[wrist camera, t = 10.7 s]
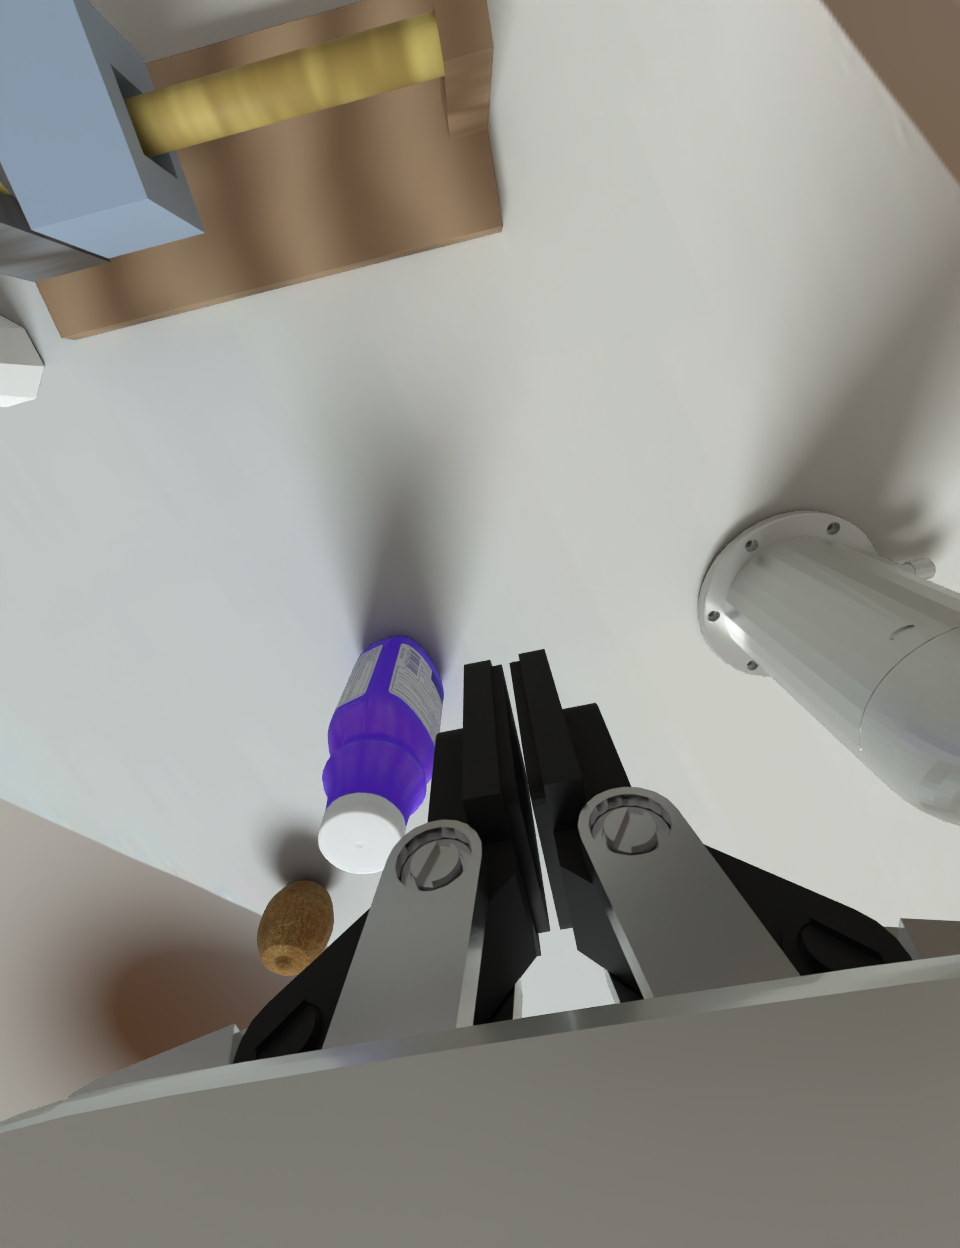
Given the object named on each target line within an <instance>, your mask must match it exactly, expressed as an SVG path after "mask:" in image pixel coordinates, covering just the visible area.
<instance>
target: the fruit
mask: <svg viewBox="0 0 960 1248" xmlns="http://www.w3.org/2000/svg"><path fill="white" fill-rule="evenodd" d="M333 924H334V913H333V905H332V901H331V898H330V895H329V893H328V892H327V891H326V889H325V888H324V887H323V886H321V885H319V884H318V883H316V882H313V881H309V880H299V881H295V882H292V883H289V884H288V885H287V886H285V887H284V888H283V889H282V890H281V891H279V892H278V893H277V894H276V895H275V896H274V897H273V898H272V899H271V901H270V902H269V903H268V905H267V907H266V909H265V911H264V913H263V916H262V919H261V921H260V925H259V928H258V934H257V944H258V950H259V955H260V958H261V960H262V963H263V964H264V965H265V967H266V968H267V969H268V970H270V971H272V972H274V973H276V974H281V975H296V974H299V973H301V972H302V971H303V970H304V969H305V968H306V967H307V966H308V965H309V964H311V963H312V962H313V961H314V960H315V959H316V958H317V957H318V956H319V955H320V954H321V953H322V952H323V951H324V949H325V947H326V945H327V943H328V941H329V939H330V936H331V933H332V930H333Z"/></svg>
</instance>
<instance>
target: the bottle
mask: <svg viewBox="0 0 960 1248" xmlns="http://www.w3.org/2000/svg"><path fill="white" fill-rule="evenodd" d="M443 699H444V691H443V686H442V682H441V679H440V676H439V674H438V671H437V669H436V667H435V665H434V663H433V662H432V660H431V658H430V657H429V656H428V654H427V653H426V652H425V650H424V649H423V648H422V647H421V646H420V645H419V644H418V643H416V642H415V641H414V640H412V639H410V638H409V637H403V636H396V637H390V638H387V639H385V640H381V641H379V642H377V643H375V644H373V645H371V646H370V647H369V648H367V649H366V650H365V651H364V652H363V653H362V654H361V655H360V656H359V658H358V660H357V662H356V664H355V666H354V668H353V671H352V673H351V675H350V678H349V680H348V682H347V685H346V687H345V689H344V691H343V694H342V696H341V698H340V700H339V703H338V705H337V707H336V709H335V712H334V714H333V717H332V719H331V722H330V725H329V729H328V745H329V752H330V758H329V760H328V761H327V763H326V765H325V767H324V770H323V775H322V781H323V786H324V790H325V793H326V795H327V797H328V799H327V805H326V810H325V813H324V817H323V821H322V824H321V827H320V830H319V833H318V844H319V848H320V850H321V852H322V854H323V855H324V857H325V858H326V859H327V860H328V861H329V862H330V863H331V864H333V865H334V866H336V867H337V868H339V869H341V870H344V871H347V872H351V873H356V874H369V873H375V872H379V871H381V870H383V869H384V867H385V864H386V861H387V858H388V856H389V855H390V853H391V851H392V849H393V847H394V846H395V845H396V844H397V843H398V842H399V840H400V839H401V838H402V837H403V836H404V835H405V831H406V825H407V822H408V819H409V816H410V815H412V814H413V813H414V812H415V811H416V810H417V809H418V807H419V806H420V805H421V804H422V802H423V800H424V798H425V795H426V784H427V783H428V782H429V781H430V780H431V778H432V771H433V760H434V750H435V739H436V735H437V734H438V733H440V724H441V715H442V705H443Z"/></svg>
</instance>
